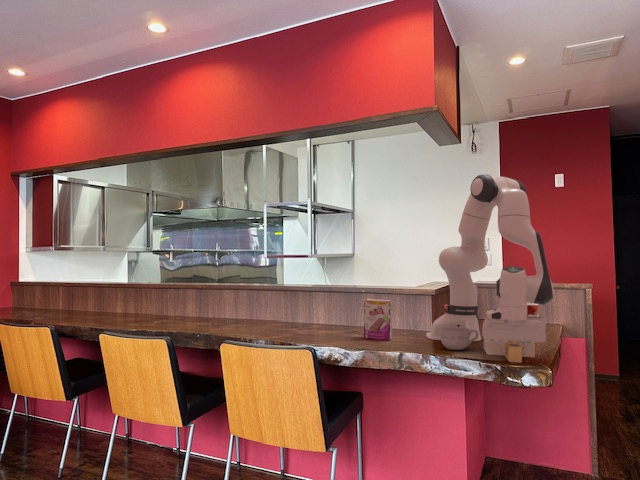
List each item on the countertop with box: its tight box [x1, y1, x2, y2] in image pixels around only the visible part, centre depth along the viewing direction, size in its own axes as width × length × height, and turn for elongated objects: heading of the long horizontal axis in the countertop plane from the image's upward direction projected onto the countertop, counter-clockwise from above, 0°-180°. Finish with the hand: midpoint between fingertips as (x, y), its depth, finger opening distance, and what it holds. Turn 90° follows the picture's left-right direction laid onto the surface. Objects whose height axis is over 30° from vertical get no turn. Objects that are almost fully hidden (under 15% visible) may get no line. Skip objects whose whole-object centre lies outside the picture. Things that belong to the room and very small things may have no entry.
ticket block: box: [483, 338, 536, 358], centre depth 164 cm, size 16×9×5 cm, turn 76°
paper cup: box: [527, 303, 539, 315], centre depth 208 cm, size 8×8×14 cm
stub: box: [504, 342, 523, 364], centre depth 154 cm, size 4×8×5 cm, turn 166°
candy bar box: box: [363, 298, 393, 342], centre depth 188 cm, size 11×5×16 cm, turn 71°
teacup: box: [440, 327, 479, 351], centre depth 171 cm, size 14×11×8 cm
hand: (513, 354), depth 154 cm, fingers closed on stub, 4 cm apart
